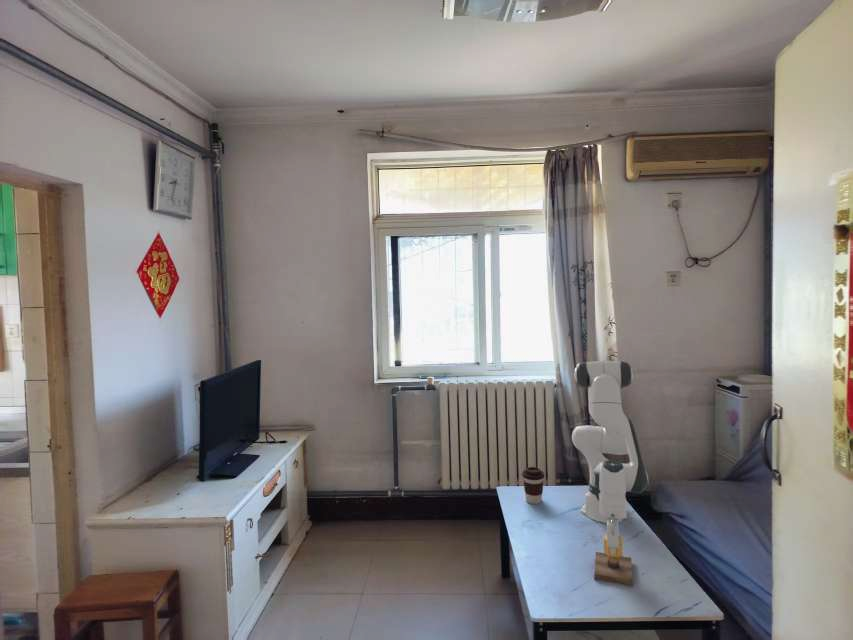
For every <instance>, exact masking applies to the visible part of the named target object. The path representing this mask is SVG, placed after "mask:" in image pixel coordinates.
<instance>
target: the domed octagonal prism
mask: <svg viewBox="0 0 853 640" xmlns="http://www.w3.org/2000/svg"><path fill="white" fill-rule="evenodd" d="M623 544H624V543H623V538H622V537H621V536H620V535H619V547H618V548H616V554H612V553H610V547H608V546H607V533H606V534H604V535H603V553H605V554H607V555H608V556H611V557H620V556H623Z"/></svg>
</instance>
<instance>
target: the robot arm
mask: <svg viewBox="0 0 853 640" xmlns="http://www.w3.org/2000/svg"><path fill="white" fill-rule="evenodd" d="M573 377H574V381H575V382H576V385H577V386H578V387H579V388H582V389H584V390H588V391H587V392H588V414H589V415H590V416H591V418H592V420H593V421H594V422H595V423H596V424H597V426H596V425H588V424H587V425H580V426H579V425H578V426H575V428H574V429H573V431H572V434H571V441H572V444H573V445H574V447H575V448H576V449H577V450H578V451H579V452H581V454H583V456H584V458H585V459H586V461H587V465H588V469H589V481H588V492H586V493H585V495H584V498H585V499H584V500H585V501H584V504H583V506H582V507H581V509H580V513H581V514H583V515H586V516H587V517H588V518H590V519H592V520H593V521H596V522H600V523H604V524H605V523H606V534H607V546H608V547H610V553H612V554H616V548H618V547H619V536H620V535H619V533H620V532H619V531H620V530H619V529H620V528H619V525H620V524H619V523H620V522H622V521H623V520H627V519H628V515H627V511H628V510H627V507H628V506H627V498H626V493H627V492H628V493H634V494H641V493H643V492H644V491H645V490H646V489H647V488H648V487H649V476H648V473H647V470H646V468H645V465H644V461H643V456H642V452H641V448H640V445H639V441H638V436H637V432H636V430H635V426H634V423H633V422H632V420H631V419H630V418H629V417H627V416H626V415H625V413H624V410H623V406H622V398H621V397H622V396H621V391H620V389H623V388H627V387H629V386H631V384H632V381H633V378H634V372H633V369H632V366H631V365H630V363H628V362H627V361H622V360H619V361H615V360H596V361H595V360H594V361H582V362H578V363H577V364H576V367H575V368H574V372H573ZM598 425H599V426H598ZM603 454H610V455H619V456H621V455H628V457H629V458H628V459H629V462H628V463H623V462H622V463H621V462H620V461H618V460H614V459H608V458H606V457H605V455H603Z"/></svg>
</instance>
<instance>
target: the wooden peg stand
mask: <svg viewBox="0 0 853 640" xmlns="http://www.w3.org/2000/svg"><path fill="white" fill-rule="evenodd" d="M594 560H595V561H594V575H593V576H594V577H593V578H594V580H596V581H602V582H607V583H612V584H618V585H624V586H628V587H633V586H634V585H633V580H634V579H633V565H632V563H633V562H632V557H630V556H623V555H622V556H620V557H611V556H608V555H607V554H605V553H604V552H599V551H595V559H594Z"/></svg>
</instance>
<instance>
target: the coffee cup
mask: <svg viewBox="0 0 853 640" xmlns="http://www.w3.org/2000/svg"><path fill="white" fill-rule="evenodd" d="M522 477H523V489H524V494H525V495H524V496H525V501H526V502H527V503H529V504H533V505H534V504H535V505H536V504H541V503H542V502H543V501H542V500H543V493H544V492H543V491H544V478H545V472H544V471H543V470H542V469H541V468H539V467H535V466H529V467H526V468H525V469H524V470H522Z"/></svg>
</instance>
